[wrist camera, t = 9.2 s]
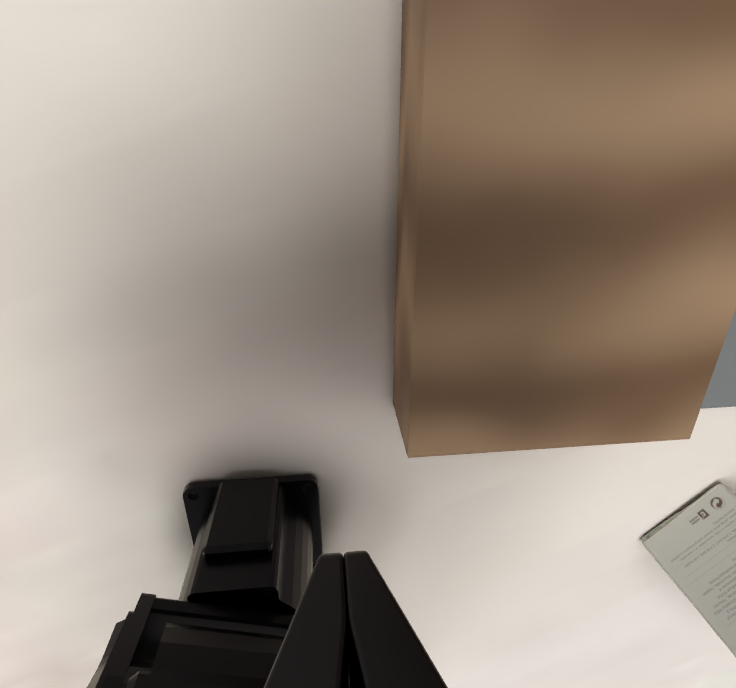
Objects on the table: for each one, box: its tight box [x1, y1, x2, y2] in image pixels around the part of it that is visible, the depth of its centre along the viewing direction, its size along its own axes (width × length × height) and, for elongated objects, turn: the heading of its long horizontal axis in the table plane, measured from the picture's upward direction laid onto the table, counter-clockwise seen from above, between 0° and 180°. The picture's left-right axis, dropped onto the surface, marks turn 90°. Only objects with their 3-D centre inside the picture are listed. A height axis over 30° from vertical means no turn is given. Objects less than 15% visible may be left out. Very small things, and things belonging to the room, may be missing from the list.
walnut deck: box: [393, 0, 736, 458], centre depth 17 cm, size 18×12×4 cm, turn 0°
